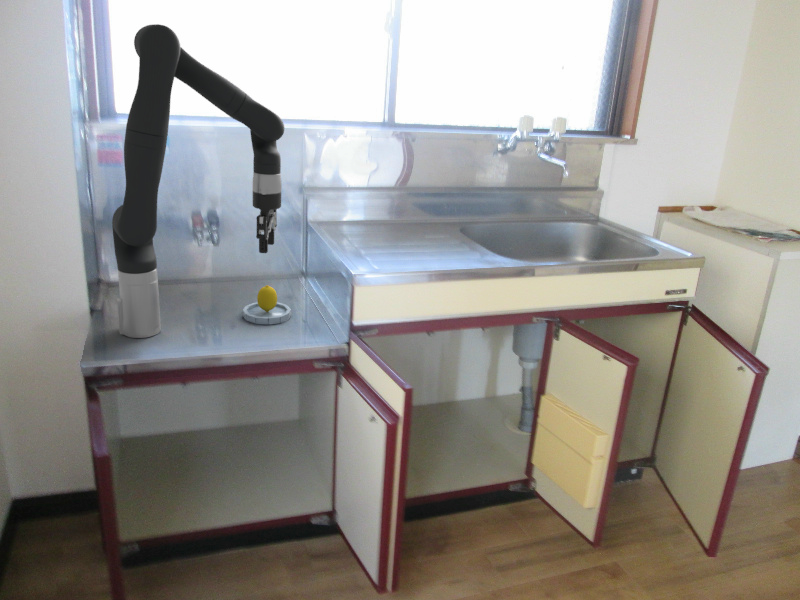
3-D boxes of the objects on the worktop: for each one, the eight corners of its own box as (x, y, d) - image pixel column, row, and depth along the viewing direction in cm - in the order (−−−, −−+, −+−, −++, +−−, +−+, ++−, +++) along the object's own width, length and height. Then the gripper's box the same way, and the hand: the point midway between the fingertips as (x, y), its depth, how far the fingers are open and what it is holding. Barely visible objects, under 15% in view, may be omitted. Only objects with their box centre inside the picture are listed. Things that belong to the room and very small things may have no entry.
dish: (238, 322, 183) (238, 316, 182) (249, 305, 195) (249, 300, 195) (285, 325, 183) (285, 319, 182) (293, 309, 195) (294, 303, 195)
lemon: (253, 312, 188) (253, 285, 185) (265, 307, 193) (265, 280, 190) (268, 317, 186) (268, 290, 183) (281, 311, 190) (281, 284, 187)
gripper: (258, 183, 184) (258, 240, 189) (246, 193, 170) (246, 254, 176) (286, 186, 184) (285, 242, 189) (275, 195, 170) (275, 256, 176)
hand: (266, 248), depth 182 cm, fingers open, 8 cm apart
